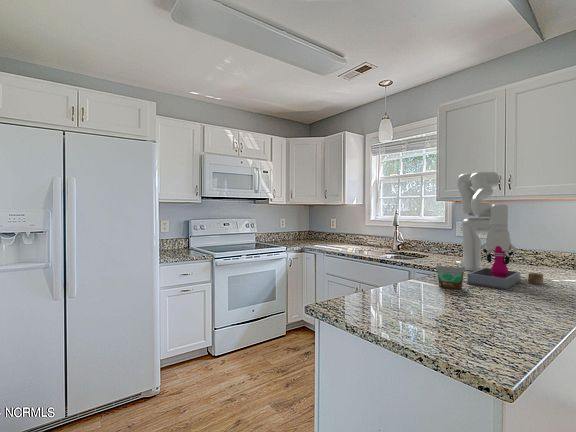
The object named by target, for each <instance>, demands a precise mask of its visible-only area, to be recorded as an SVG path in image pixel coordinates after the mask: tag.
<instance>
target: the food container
mask: <svg viewBox="0 0 576 432" xmlns="http://www.w3.org/2000/svg"><path fill="white" fill-rule="evenodd" d="M435 266H436V267H435V270H436V271H437V281H438V287H440V288H442V289H445V290H453V291H454V290H458V291H459V290H462V287H463V280H464V273H465V272H466V271H467V270H465V268H464V267H462V268H460V267H454V266H443V265H438V264H436V265H435Z"/></svg>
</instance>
